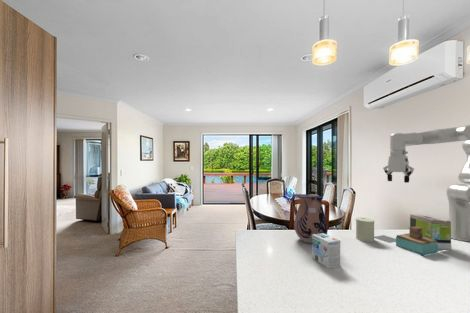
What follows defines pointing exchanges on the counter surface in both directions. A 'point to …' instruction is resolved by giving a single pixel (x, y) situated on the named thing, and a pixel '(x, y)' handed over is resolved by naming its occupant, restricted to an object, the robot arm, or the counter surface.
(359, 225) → the can
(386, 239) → the mat
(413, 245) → the dish
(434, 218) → the tea box
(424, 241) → the lid
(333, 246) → the light bulb box
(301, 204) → the ceramic pitcher
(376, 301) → the counter surface
